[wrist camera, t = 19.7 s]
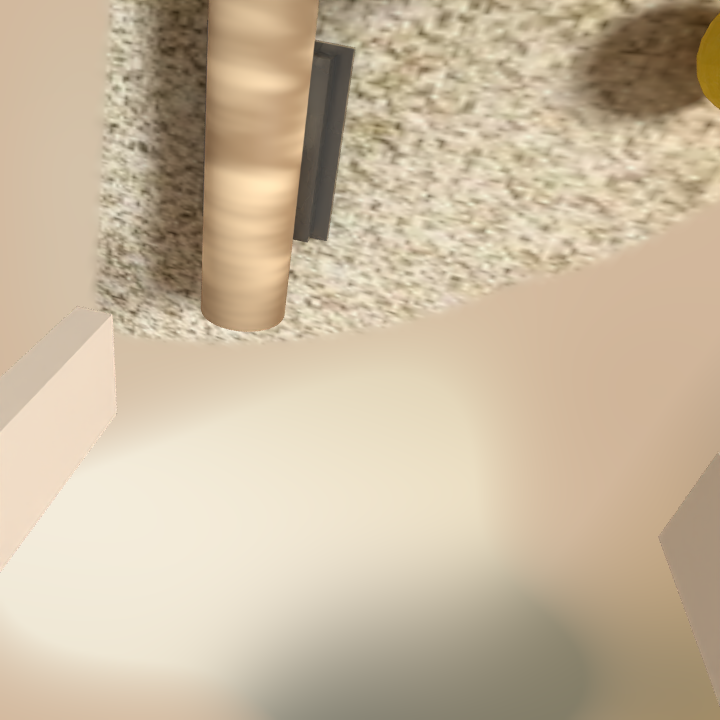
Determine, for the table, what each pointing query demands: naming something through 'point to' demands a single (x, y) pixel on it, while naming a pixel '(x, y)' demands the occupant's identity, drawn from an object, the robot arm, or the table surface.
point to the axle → (253, 155)
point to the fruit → (710, 62)
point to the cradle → (320, 138)
